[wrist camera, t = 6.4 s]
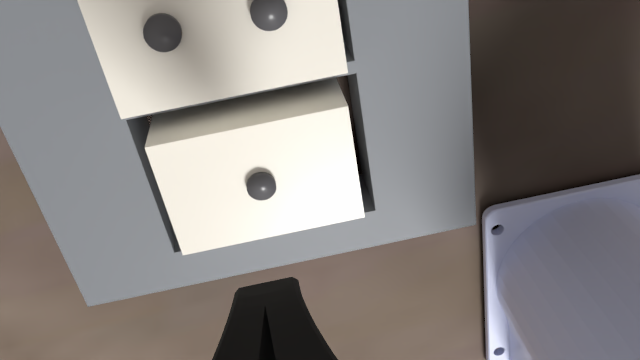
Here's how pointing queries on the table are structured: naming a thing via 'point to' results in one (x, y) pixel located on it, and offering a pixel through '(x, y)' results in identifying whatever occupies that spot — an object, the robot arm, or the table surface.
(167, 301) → the table surface
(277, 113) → the tile
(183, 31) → the tile
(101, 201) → the keypad board
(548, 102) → the table surface
